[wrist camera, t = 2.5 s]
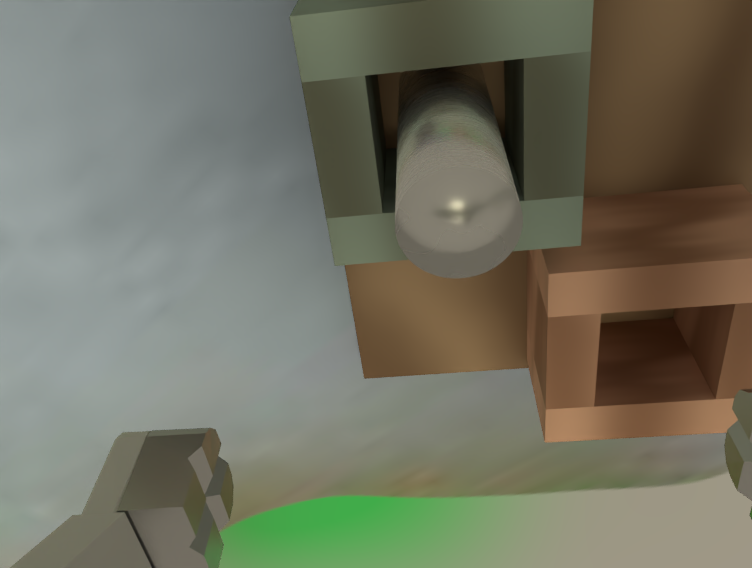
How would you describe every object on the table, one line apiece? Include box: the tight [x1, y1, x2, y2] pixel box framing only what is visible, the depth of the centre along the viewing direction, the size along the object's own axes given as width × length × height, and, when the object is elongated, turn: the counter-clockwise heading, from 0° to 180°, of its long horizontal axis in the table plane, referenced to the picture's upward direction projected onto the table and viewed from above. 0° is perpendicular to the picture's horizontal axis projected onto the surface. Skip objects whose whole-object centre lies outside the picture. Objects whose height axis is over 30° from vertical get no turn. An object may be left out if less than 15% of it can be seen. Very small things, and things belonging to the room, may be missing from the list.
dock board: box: [290, 0, 752, 442], centre depth 25 cm, size 16×18×6 cm
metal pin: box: [395, 63, 523, 278], centre depth 21 cm, size 3×3×10 cm
